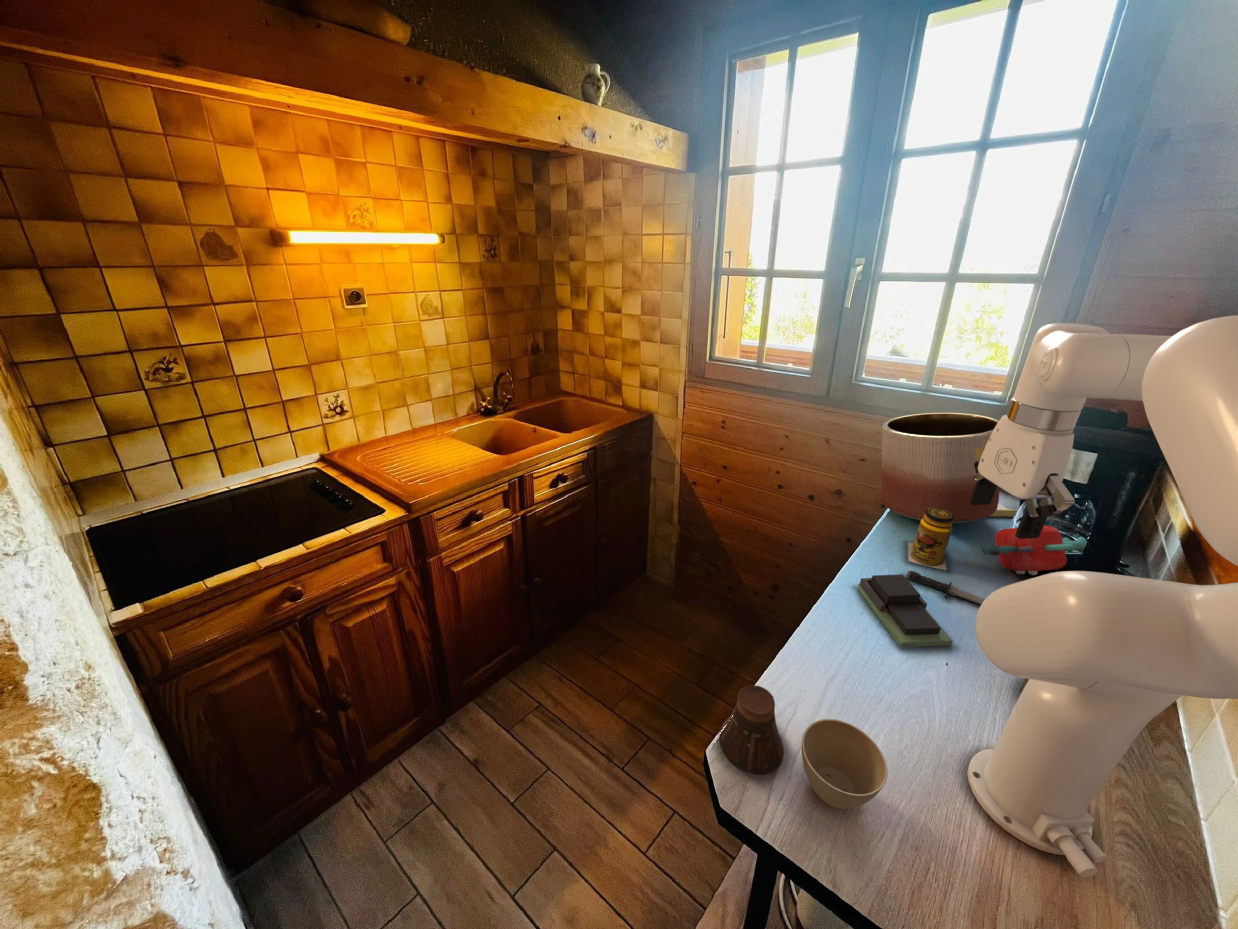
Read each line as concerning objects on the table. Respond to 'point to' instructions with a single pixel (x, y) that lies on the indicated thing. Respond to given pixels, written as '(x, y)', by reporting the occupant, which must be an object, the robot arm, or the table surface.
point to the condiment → (932, 539)
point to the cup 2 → (753, 732)
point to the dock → (908, 639)
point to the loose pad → (894, 590)
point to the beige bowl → (842, 763)
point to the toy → (1033, 550)
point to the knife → (943, 587)
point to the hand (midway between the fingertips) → (1001, 519)
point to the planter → (934, 464)
